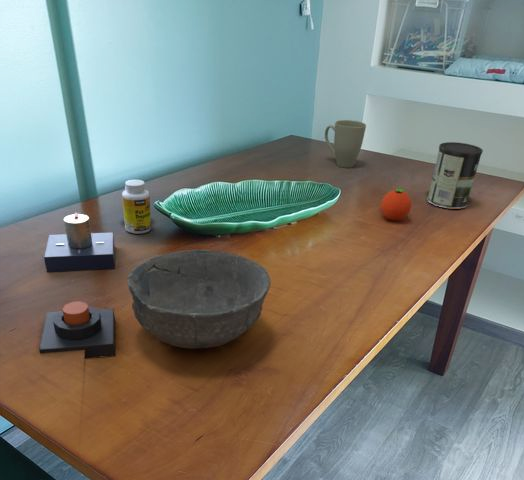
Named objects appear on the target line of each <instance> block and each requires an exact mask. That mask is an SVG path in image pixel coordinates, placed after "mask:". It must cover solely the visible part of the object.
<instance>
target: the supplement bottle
mask: <svg viewBox="0 0 524 480" xmlns="http://www.w3.org/2000/svg"><path fill="white" fill-rule="evenodd" d="M124 189H125V190H123V191H122V193H121V198H122V208H123V209H122V210H123V217H124V218H123V220H124V221H123V222H124V228H125V230H126V232H129V233H131V234H135V235H138V234H146V233H148V232H150V231H151V229H152V212H151V200H150V199H151V198H150V196H151V195H150V192H149V191H148V190H147V189H146V183H145V181H144V180H142V179H129V180H126V181H125V182H124Z"/></svg>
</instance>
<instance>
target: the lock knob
mask: <svg viewBox="0 0 524 480" xmlns="http://www.w3.org/2000/svg"><path fill="white" fill-rule="evenodd" d="M63 224H64V230H65V234H66V236H67V242H68V246H69V247H71V248H76V249H81V248H86V247H89V246H91V245H92V237H91V233H92V231H91V223H90V217H89V216H88V215H87V214H81V213H79V212H74V214H69V215H66V216H65V217H64V218H63Z"/></svg>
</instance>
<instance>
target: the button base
mask: <svg viewBox="0 0 524 480" xmlns="http://www.w3.org/2000/svg"><path fill="white" fill-rule="evenodd" d="M88 308H89V314H90V320H89V321H88V322H86V323H83V324H80V325H69V324H66V323H65V321H64V316H63V311H62V309H61V310H59V311H50V312H49V311H48V312H45V313H46V314H45V318H44V322H43V323H44V324H43V329H42V333H41V340H40V345H39V350H38V351H39V354H50V353H61V352H75V351H84V357H83V359H93V358H92V357H96V358H101V357H100V356H108V357H112V356H111V355H115V356H116V316H115V309H114V307H110V308H109V307H108V308H98V309H97V308H95V307H91V306H88Z"/></svg>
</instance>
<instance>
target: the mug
mask: <svg viewBox="0 0 524 480" xmlns="http://www.w3.org/2000/svg"><path fill="white" fill-rule="evenodd" d="M366 128H367V124H366V123H365V122H362V121H358V120H352V119H350V120H349V119H342V120H336V121H335V122H334V125H333V124H332V125H328V126H327V127H326V128H325V131H324V140H325V143H326V144H327V146H328V148H329V149H330V151H331V152H332V154H334V156H335V161H336V166H337V165H338V166H337V167H339V166H340V168H343V167H344V169H350V168H353V167H354V165H355V163H356V160H357V158H358V156H359V154H360V152H361V149H362V146H363V142H364V137H365V132H366ZM330 129H331V130H333V131H334V136H333V146H332V144H331V142H330V140H329V135H328V134H329V131H330Z"/></svg>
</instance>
